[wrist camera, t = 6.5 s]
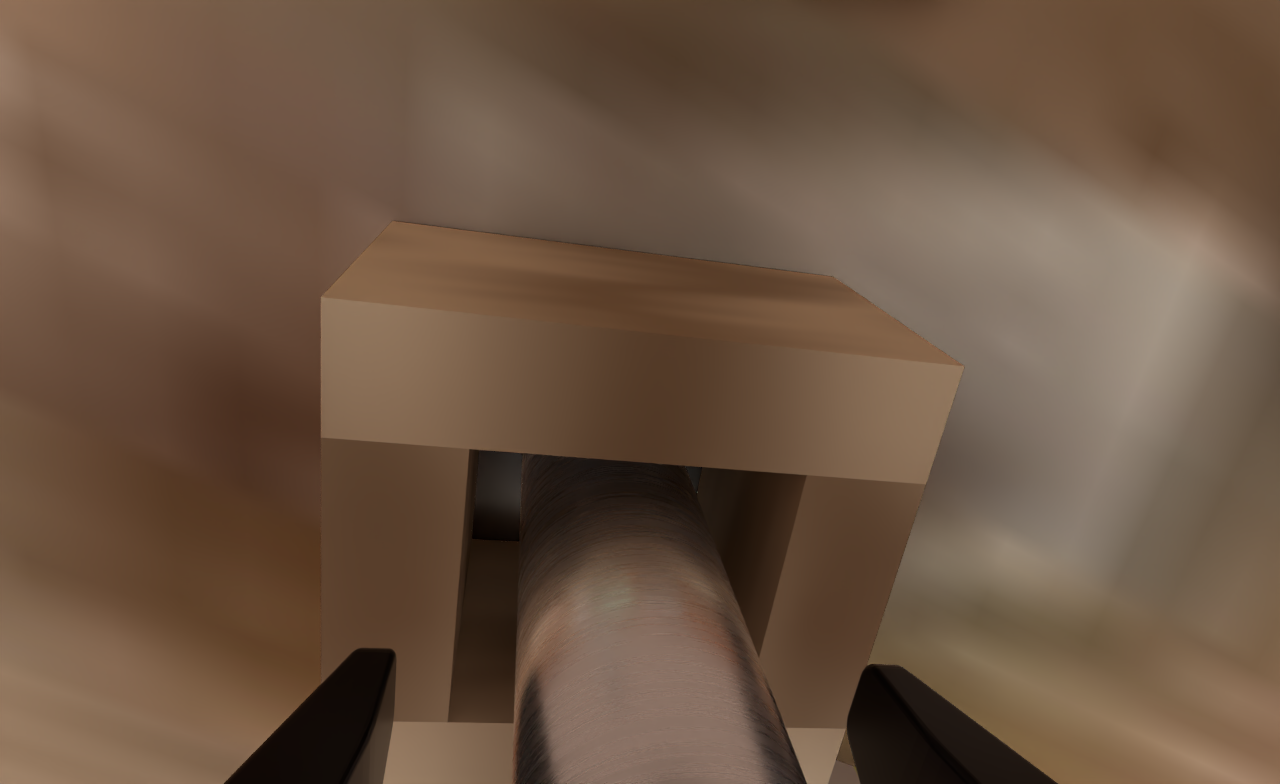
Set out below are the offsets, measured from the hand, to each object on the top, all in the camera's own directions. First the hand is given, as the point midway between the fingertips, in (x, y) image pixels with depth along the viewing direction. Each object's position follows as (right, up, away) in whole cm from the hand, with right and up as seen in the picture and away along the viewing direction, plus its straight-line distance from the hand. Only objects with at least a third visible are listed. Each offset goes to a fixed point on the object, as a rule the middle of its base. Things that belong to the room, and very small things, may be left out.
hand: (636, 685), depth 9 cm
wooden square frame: (-1, +2, +5) cm, 6 cm away
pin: (-1, +2, +5) cm, 6 cm away
